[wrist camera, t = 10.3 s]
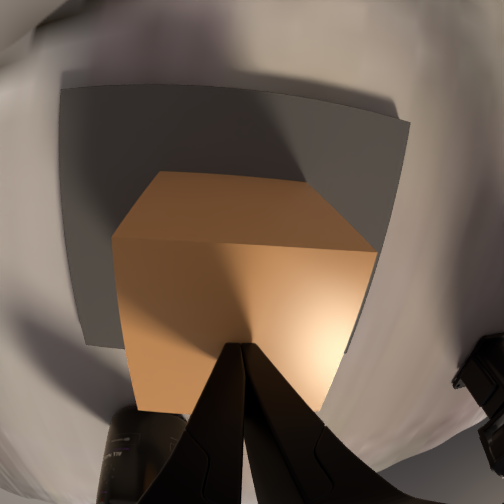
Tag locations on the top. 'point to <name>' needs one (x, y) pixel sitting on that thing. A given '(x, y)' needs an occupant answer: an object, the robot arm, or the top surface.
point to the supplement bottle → (136, 453)
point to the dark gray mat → (209, 166)
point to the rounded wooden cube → (234, 283)
